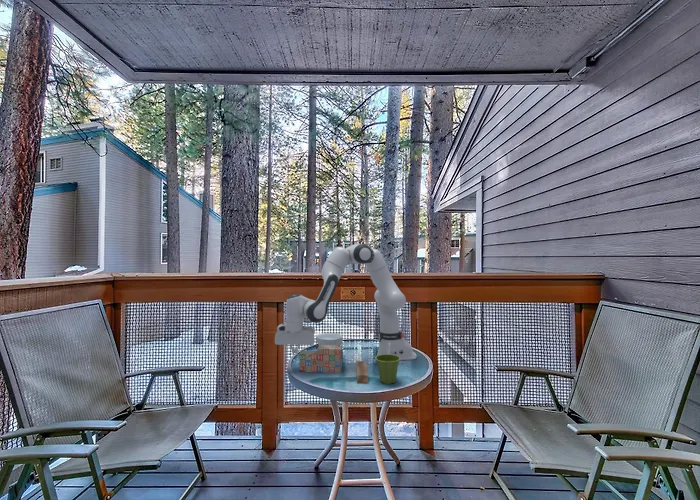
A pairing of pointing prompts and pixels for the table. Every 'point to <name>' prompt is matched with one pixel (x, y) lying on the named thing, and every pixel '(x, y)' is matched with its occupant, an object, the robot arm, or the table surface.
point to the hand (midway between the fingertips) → (295, 352)
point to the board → (361, 372)
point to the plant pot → (387, 367)
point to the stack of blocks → (322, 359)
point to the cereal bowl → (329, 339)
